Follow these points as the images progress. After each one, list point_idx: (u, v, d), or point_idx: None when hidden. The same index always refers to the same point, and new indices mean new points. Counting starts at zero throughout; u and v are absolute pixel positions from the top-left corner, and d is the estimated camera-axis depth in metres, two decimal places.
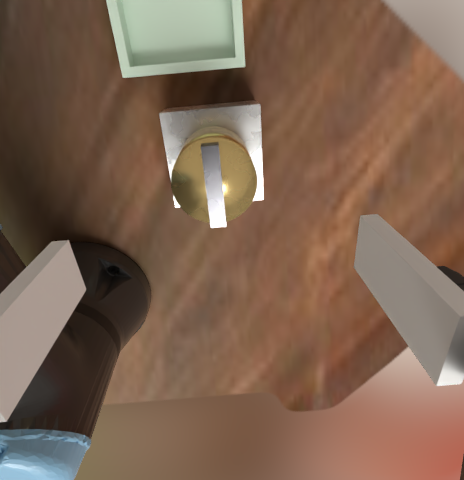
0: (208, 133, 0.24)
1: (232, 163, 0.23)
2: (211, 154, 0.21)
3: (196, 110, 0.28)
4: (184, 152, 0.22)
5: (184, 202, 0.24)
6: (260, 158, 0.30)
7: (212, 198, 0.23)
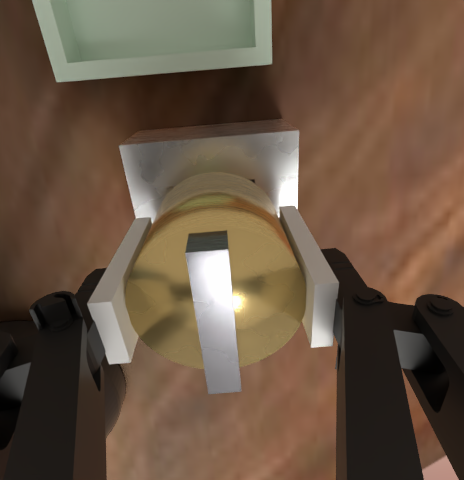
0: (205, 197, 0.12)
1: (255, 271, 0.11)
2: (209, 267, 0.09)
3: (185, 140, 0.16)
4: (151, 251, 0.10)
5: (155, 338, 0.12)
6: None
7: (212, 347, 0.11)
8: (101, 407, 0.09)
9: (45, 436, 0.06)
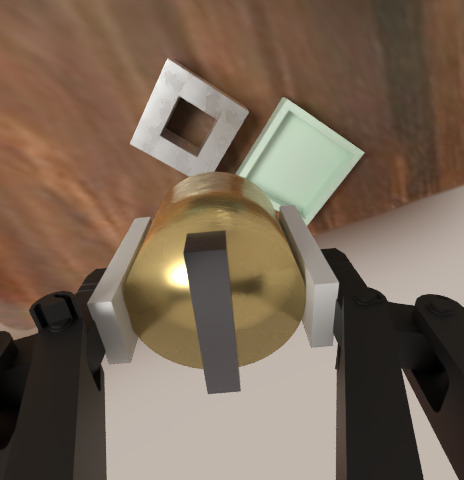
0: (204, 197, 0.12)
1: (254, 270, 0.11)
2: (207, 268, 0.09)
3: (231, 140, 0.33)
4: (150, 251, 0.10)
5: (154, 338, 0.12)
6: (167, 162, 0.34)
7: (211, 346, 0.11)
8: (101, 407, 0.09)
9: (45, 436, 0.06)
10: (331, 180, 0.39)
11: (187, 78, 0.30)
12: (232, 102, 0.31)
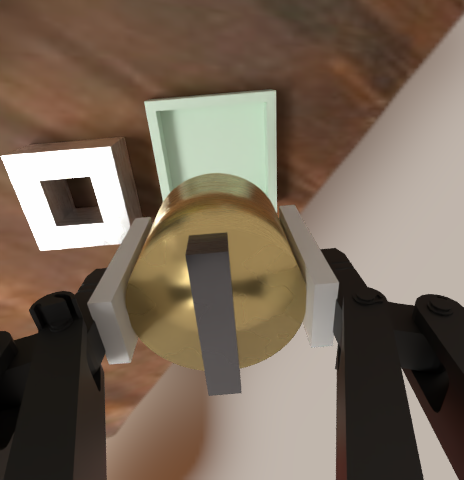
0: (205, 198, 0.12)
1: (256, 272, 0.11)
2: (209, 270, 0.09)
3: (119, 185, 0.28)
4: (151, 253, 0.10)
5: (155, 339, 0.12)
6: (83, 245, 0.30)
7: (212, 348, 0.11)
8: (101, 407, 0.09)
9: (45, 436, 0.06)
10: (266, 146, 0.29)
11: (31, 159, 0.26)
12: (87, 150, 0.26)
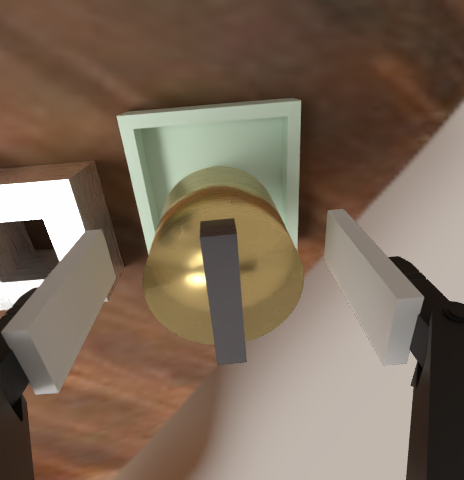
0: (212, 189, 0.13)
1: (258, 254, 0.12)
2: (220, 250, 0.10)
3: (84, 229, 0.20)
4: (167, 237, 0.11)
5: (169, 317, 0.13)
6: None
7: (221, 321, 0.12)
8: (25, 437, 0.08)
9: None
10: (284, 174, 0.22)
11: None
12: (37, 184, 0.19)
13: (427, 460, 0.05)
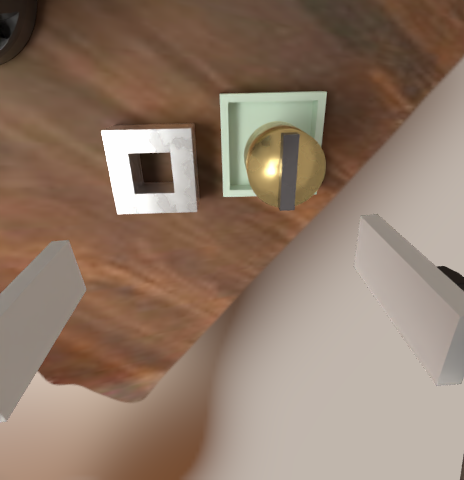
0: (281, 125, 0.27)
1: (305, 152, 0.25)
2: (291, 142, 0.24)
3: (192, 161, 0.34)
4: (264, 139, 0.25)
5: (256, 186, 0.27)
6: (154, 211, 0.36)
7: (286, 182, 0.25)
8: None
9: None
10: None
11: (125, 135, 0.32)
12: (172, 130, 0.32)
13: None
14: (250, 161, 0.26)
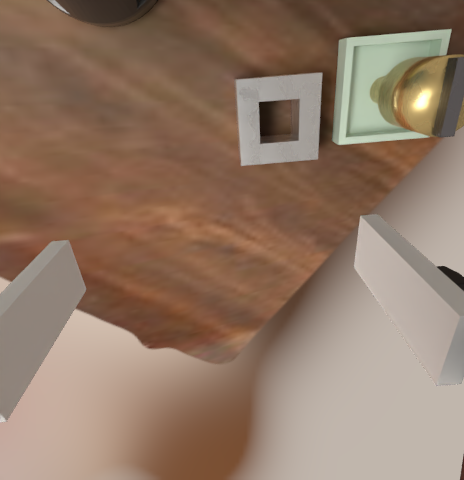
0: (435, 56, 0.28)
1: None
2: None
3: (319, 106, 0.35)
4: (431, 66, 0.26)
5: (415, 115, 0.28)
6: (277, 161, 0.37)
7: (451, 107, 0.26)
8: None
9: None
10: None
11: (258, 83, 0.33)
12: (304, 75, 0.33)
13: None
14: (413, 90, 0.27)
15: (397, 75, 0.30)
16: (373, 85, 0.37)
